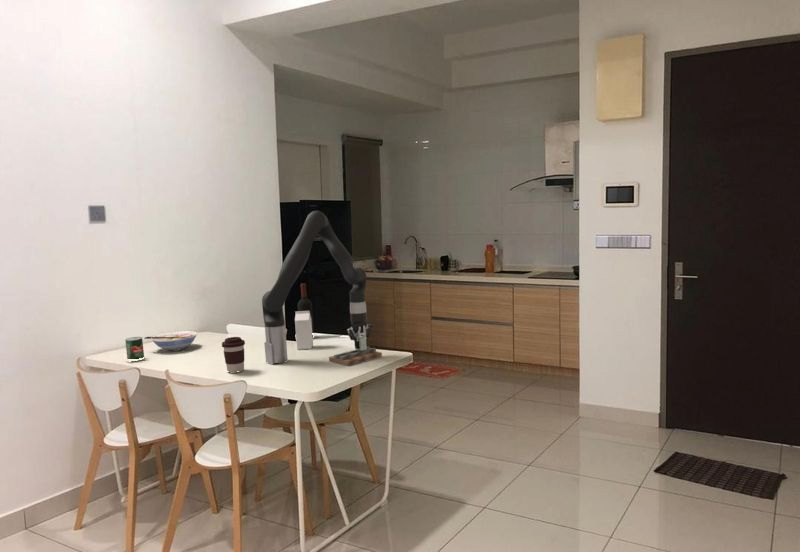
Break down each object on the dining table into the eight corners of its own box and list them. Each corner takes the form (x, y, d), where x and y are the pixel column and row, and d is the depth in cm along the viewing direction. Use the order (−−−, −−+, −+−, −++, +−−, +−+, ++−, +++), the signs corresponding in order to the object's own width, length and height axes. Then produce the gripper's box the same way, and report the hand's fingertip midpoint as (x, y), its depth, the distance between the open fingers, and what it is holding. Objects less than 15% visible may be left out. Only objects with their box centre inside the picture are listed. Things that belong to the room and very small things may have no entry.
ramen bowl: (208, 344, 343) (207, 329, 342) (184, 354, 321) (182, 339, 320) (168, 344, 350) (166, 329, 349) (141, 354, 328) (140, 339, 327)
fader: (361, 354, 291) (360, 337, 290) (355, 352, 295) (354, 336, 294) (366, 353, 293) (365, 336, 292) (360, 351, 297) (359, 335, 296)
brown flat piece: (347, 366, 280) (347, 358, 280) (329, 361, 291) (328, 353, 290) (381, 356, 294) (381, 349, 293) (362, 352, 304) (362, 345, 304)
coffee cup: (238, 367, 289) (235, 335, 288) (251, 370, 283) (248, 337, 281) (219, 372, 282) (216, 339, 280) (233, 375, 275) (230, 341, 274)
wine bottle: (301, 340, 340) (296, 285, 336) (299, 337, 347) (295, 283, 344) (315, 338, 342) (311, 283, 338) (313, 336, 349) (309, 282, 346)
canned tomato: (138, 362, 311) (135, 340, 310) (124, 362, 313) (121, 340, 311) (147, 358, 319) (145, 336, 318) (133, 358, 320) (131, 336, 319)
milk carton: (311, 349, 317) (308, 312, 315) (297, 350, 318) (294, 312, 315) (313, 346, 325) (310, 309, 322) (299, 346, 325) (296, 310, 323)
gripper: (364, 308, 299) (367, 344, 301) (341, 313, 290) (343, 349, 292) (375, 309, 294) (377, 346, 296) (351, 314, 284) (353, 352, 286)
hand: (360, 347), depth 294 cm, fingers closed on fader, 3 cm apart
